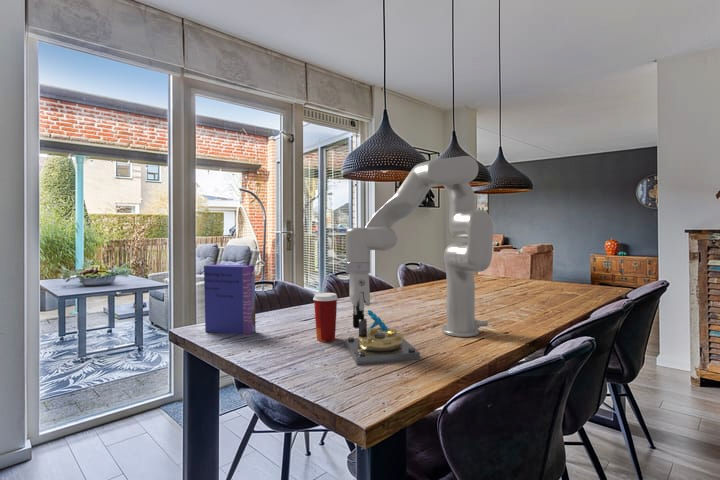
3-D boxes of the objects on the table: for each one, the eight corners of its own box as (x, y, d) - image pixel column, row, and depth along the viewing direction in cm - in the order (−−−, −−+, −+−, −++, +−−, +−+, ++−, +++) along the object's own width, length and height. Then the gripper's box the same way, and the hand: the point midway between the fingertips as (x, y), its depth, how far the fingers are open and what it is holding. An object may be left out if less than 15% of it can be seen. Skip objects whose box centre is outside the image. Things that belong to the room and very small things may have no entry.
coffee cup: (342, 337, 133) (342, 293, 133) (330, 344, 126) (330, 297, 125) (321, 334, 137) (320, 291, 136) (308, 341, 129) (307, 295, 129)
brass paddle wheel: (405, 339, 123) (404, 316, 122) (400, 352, 110) (400, 326, 110) (363, 337, 125) (362, 314, 125) (353, 349, 113) (353, 324, 112)
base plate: (399, 341, 128) (399, 333, 128) (419, 359, 111) (419, 350, 111) (344, 345, 125) (344, 337, 124) (356, 364, 107) (356, 355, 107)
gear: (389, 330, 135) (368, 309, 137) (376, 343, 135) (356, 321, 137) (391, 327, 146) (372, 307, 148) (379, 338, 146) (361, 318, 148)
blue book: (255, 331, 142) (254, 264, 141) (248, 335, 137) (247, 266, 136) (213, 328, 147) (212, 264, 146) (205, 331, 142) (203, 265, 141)
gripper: (375, 270, 115) (375, 333, 115) (365, 265, 129) (365, 321, 130) (350, 270, 113) (350, 334, 114) (342, 265, 128) (342, 322, 128)
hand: (358, 327), depth 122 cm, fingers closed
